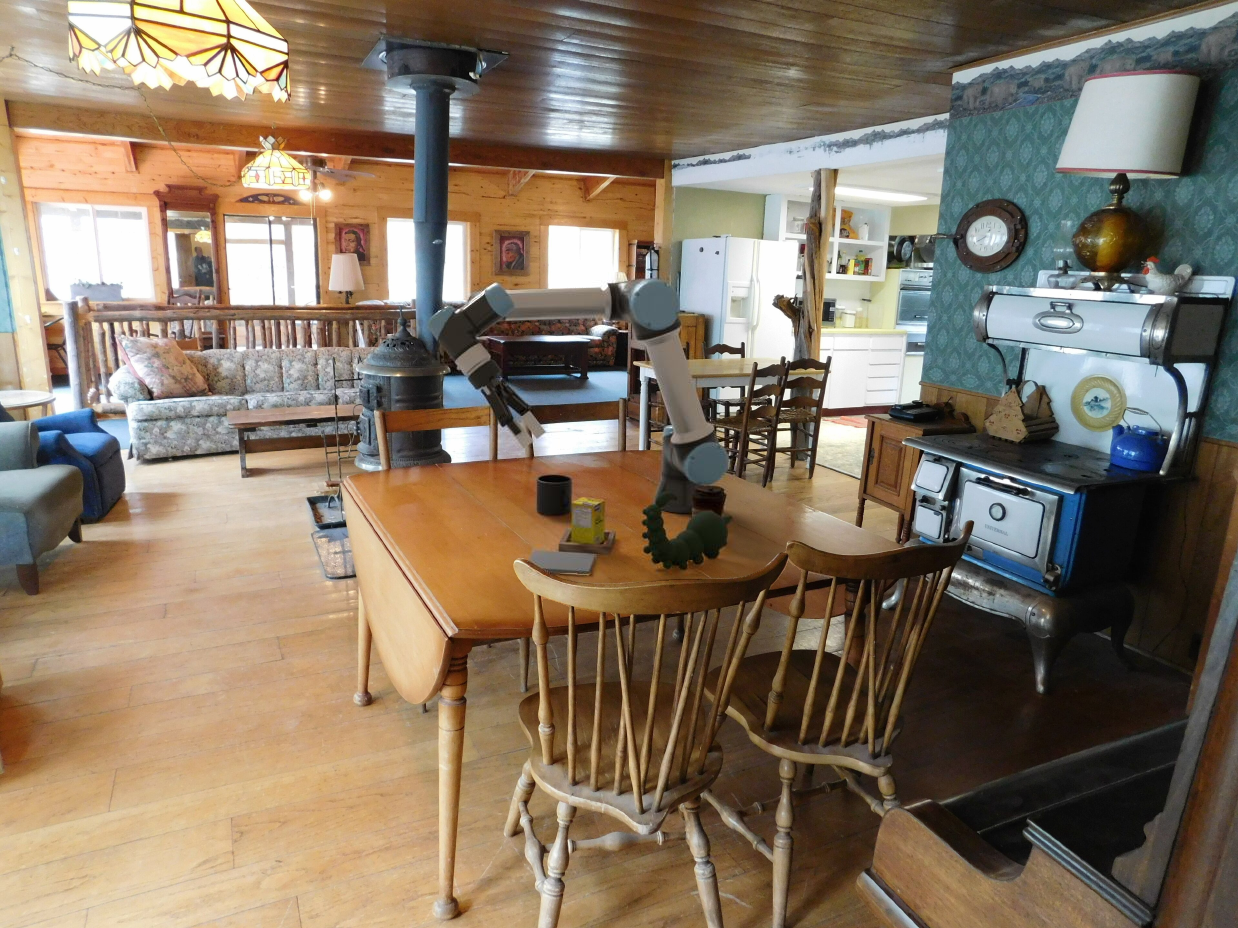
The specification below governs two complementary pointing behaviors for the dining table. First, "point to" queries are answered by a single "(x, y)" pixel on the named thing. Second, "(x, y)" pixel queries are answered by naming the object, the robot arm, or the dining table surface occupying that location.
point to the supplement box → (588, 521)
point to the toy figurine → (683, 536)
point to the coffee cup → (708, 500)
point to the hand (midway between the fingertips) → (535, 440)
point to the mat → (563, 561)
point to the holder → (587, 548)
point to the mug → (554, 495)
